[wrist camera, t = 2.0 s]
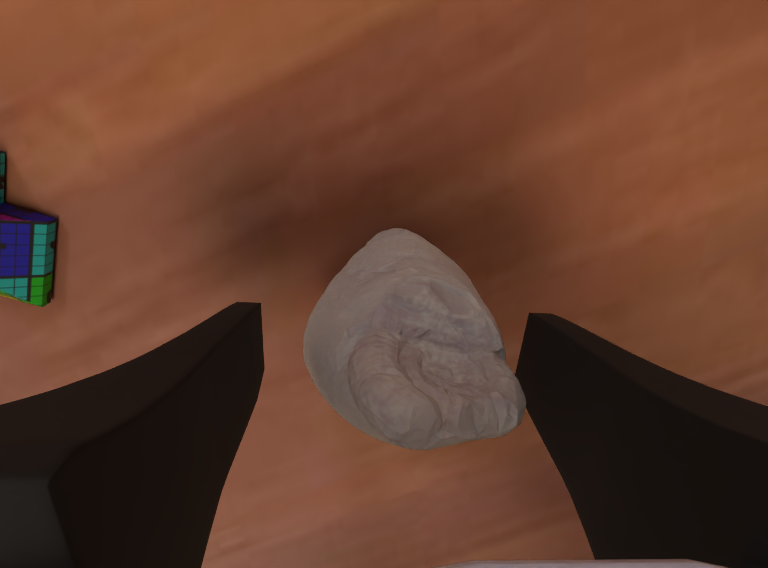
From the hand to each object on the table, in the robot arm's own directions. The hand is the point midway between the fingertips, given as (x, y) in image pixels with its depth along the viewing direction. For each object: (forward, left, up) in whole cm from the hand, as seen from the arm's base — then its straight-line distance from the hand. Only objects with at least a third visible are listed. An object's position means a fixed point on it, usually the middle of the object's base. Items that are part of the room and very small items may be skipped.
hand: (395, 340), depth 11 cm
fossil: (0, 0, -6) cm, 6 cm away
